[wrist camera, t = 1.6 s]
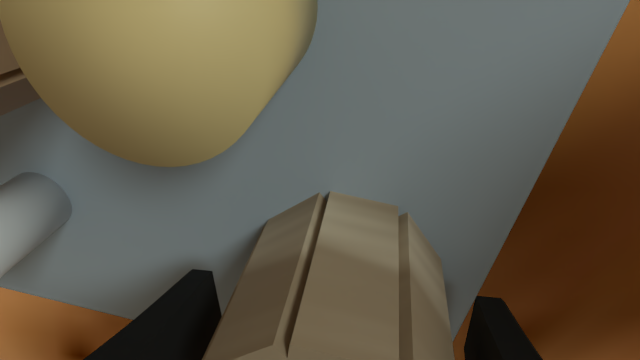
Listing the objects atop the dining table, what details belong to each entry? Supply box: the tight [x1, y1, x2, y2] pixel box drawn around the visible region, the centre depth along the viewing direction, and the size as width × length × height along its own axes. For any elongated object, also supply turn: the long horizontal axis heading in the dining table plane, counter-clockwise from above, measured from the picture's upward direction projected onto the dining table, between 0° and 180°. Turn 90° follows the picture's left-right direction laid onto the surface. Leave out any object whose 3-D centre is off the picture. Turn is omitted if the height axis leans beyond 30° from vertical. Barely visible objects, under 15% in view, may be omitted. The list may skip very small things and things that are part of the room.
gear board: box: [0, 0, 630, 342], centre depth 10 cm, size 20×16×7 cm
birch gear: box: [202, 191, 455, 360], centre depth 10 cm, size 5×5×5 cm
